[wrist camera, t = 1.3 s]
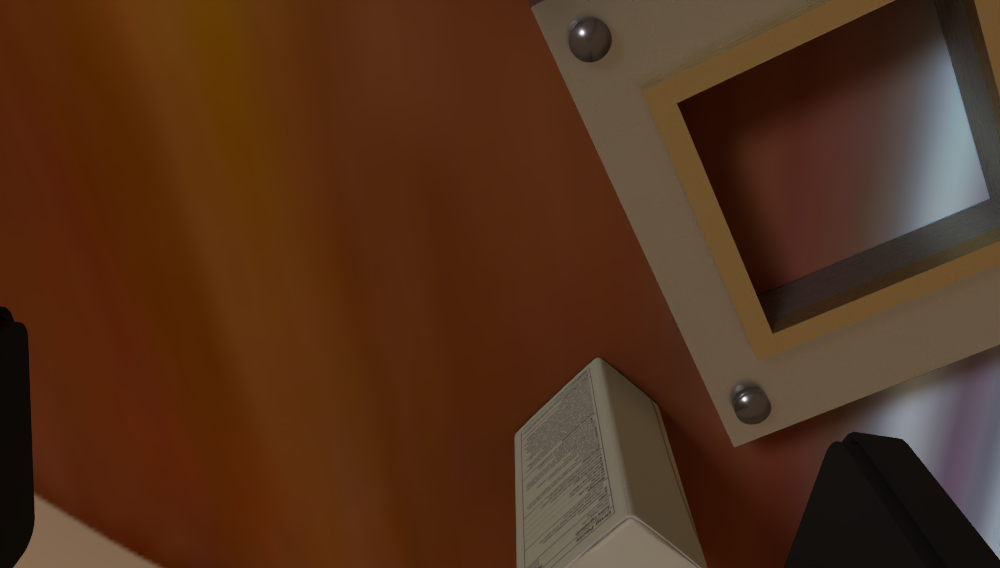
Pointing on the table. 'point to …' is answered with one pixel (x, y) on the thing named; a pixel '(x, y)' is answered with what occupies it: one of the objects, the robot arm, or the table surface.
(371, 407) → the table surface
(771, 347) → the picture frame
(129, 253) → the table surface
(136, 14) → the table surface
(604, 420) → the skincare box
